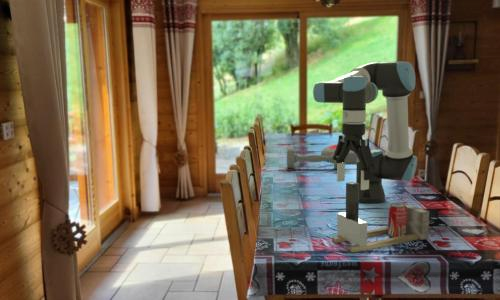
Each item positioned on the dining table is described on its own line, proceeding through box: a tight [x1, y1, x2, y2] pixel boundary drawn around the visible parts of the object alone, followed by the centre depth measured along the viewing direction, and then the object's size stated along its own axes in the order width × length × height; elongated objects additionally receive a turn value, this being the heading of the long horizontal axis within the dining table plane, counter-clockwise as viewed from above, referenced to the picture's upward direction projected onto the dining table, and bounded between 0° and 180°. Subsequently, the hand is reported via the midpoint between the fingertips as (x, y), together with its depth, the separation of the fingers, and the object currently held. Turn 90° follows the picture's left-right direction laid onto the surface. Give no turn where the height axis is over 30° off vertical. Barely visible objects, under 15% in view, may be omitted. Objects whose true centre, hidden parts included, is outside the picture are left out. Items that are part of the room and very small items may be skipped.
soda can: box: [387, 202, 407, 238], centre depth 167 cm, size 6×6×12 cm
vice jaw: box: [336, 181, 368, 247], centre depth 158 cm, size 13×4×20 cm, turn 23°
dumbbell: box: [286, 147, 337, 170], centre depth 289 cm, size 13×33×13 cm, turn 81°
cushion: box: [320, 144, 374, 164], centre depth 321 cm, size 37×37×10 cm
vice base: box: [331, 201, 430, 253], centre depth 164 cm, size 14×32×10 cm, turn 113°
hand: (352, 185), depth 157 cm, fingers open, 13 cm apart
